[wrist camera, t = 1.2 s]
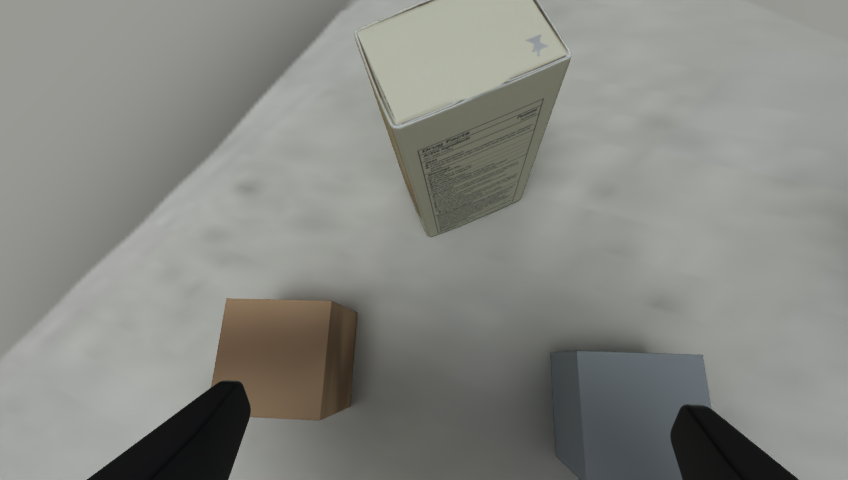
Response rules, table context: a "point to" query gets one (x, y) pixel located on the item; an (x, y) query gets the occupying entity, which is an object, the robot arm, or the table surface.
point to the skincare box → (464, 100)
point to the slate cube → (622, 411)
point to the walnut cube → (288, 356)
